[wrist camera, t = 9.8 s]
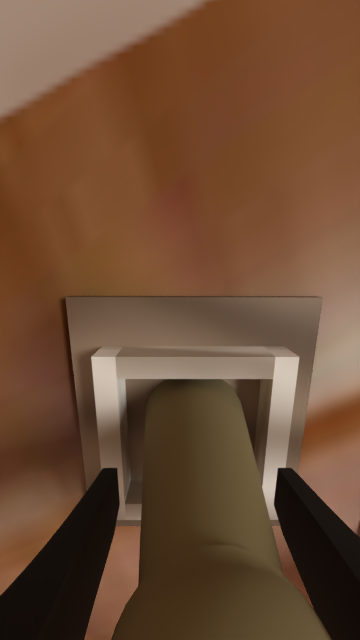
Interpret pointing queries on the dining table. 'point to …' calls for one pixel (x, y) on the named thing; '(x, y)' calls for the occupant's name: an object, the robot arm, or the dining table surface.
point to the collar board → (190, 374)
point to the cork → (207, 529)
